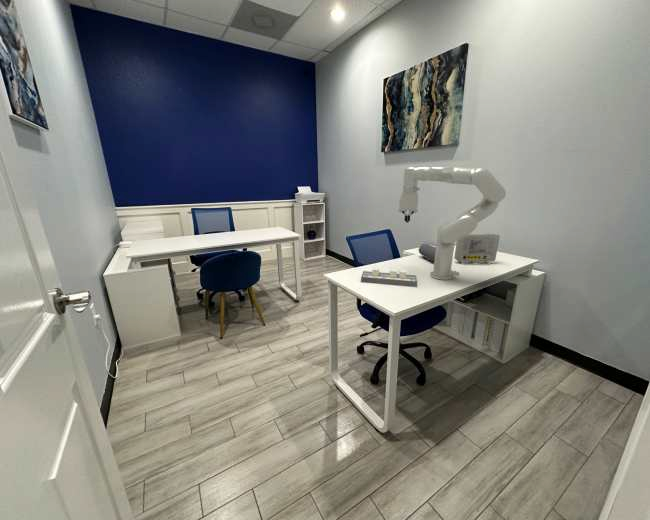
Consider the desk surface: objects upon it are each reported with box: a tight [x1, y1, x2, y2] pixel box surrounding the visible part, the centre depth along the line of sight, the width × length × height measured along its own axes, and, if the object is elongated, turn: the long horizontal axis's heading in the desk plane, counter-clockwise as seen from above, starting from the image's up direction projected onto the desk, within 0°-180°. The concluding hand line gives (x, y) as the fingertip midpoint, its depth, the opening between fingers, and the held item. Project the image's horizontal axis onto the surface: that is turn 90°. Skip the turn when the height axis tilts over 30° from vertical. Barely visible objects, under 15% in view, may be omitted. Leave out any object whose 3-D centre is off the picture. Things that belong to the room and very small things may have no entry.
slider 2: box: [398, 268, 407, 278], centre depth 155 cm, size 4×5×4 cm
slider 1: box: [371, 266, 380, 276], centre depth 159 cm, size 4×5×4 cm
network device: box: [453, 233, 501, 266], centre depth 185 cm, size 26×9×20 cm, turn 88°
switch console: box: [360, 270, 418, 288], centre depth 158 cm, size 30×10×3 cm, turn 76°
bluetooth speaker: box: [418, 243, 436, 264], centre depth 192 cm, size 23×9×10 cm, turn 13°
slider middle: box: [389, 268, 398, 278], centre depth 156 cm, size 4×5×4 cm
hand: (407, 222), depth 162 cm, fingers closed
